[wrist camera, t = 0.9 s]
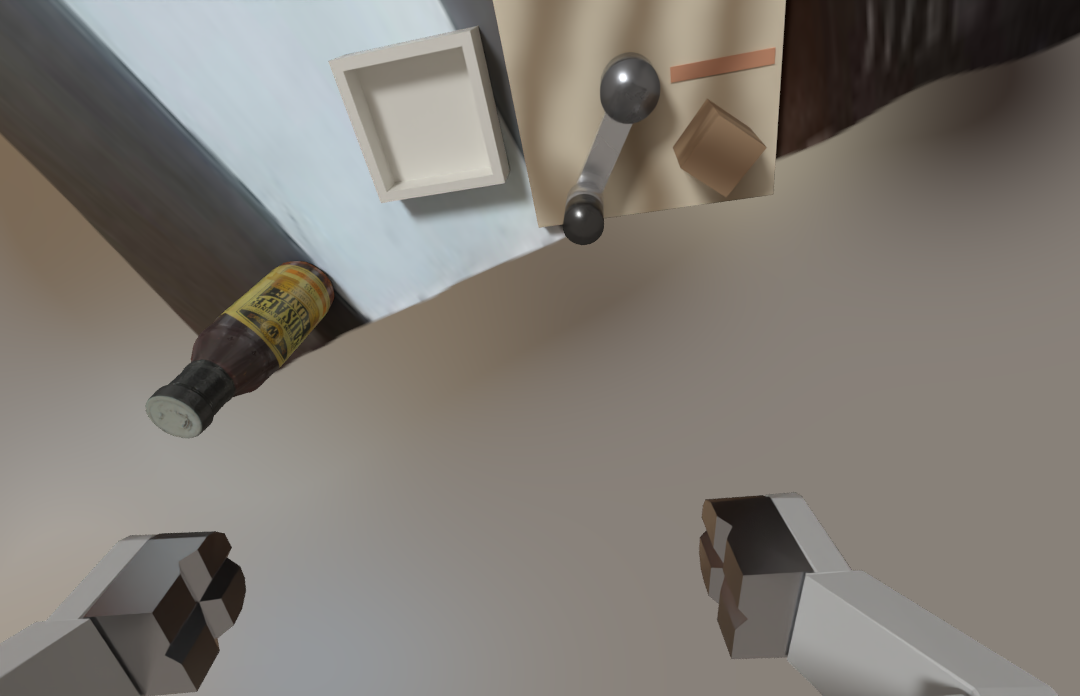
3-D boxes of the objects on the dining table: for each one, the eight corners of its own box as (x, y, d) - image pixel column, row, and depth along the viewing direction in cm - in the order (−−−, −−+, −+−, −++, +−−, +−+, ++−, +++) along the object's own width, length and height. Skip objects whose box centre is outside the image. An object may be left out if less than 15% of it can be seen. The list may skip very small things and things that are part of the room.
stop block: (707, 98, 39) (719, 115, 35) (750, 127, 40) (766, 147, 36) (672, 147, 41) (680, 168, 37) (714, 174, 42) (726, 197, 38)
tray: (478, 25, 39) (469, 30, 36) (510, 170, 45) (504, 183, 42) (344, 54, 41) (328, 61, 38) (392, 190, 47) (381, 202, 44)
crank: (613, 42, 37) (616, 61, 31) (666, 65, 37) (679, 87, 31) (556, 193, 44) (549, 233, 37) (602, 210, 44) (602, 253, 38)
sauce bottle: (350, 297, 54) (244, 442, 38) (305, 319, 56) (187, 464, 40) (306, 243, 51) (170, 376, 35) (259, 268, 53) (112, 404, 37)
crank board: (787, -136, 32) (795, -139, 31) (768, 187, 44) (773, 195, 42) (484, -61, 36) (480, -61, 34) (540, 220, 47) (538, 228, 46)
